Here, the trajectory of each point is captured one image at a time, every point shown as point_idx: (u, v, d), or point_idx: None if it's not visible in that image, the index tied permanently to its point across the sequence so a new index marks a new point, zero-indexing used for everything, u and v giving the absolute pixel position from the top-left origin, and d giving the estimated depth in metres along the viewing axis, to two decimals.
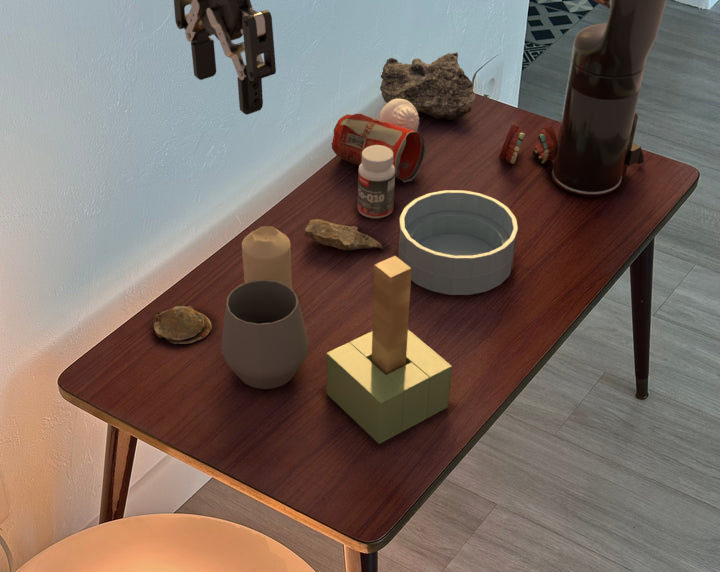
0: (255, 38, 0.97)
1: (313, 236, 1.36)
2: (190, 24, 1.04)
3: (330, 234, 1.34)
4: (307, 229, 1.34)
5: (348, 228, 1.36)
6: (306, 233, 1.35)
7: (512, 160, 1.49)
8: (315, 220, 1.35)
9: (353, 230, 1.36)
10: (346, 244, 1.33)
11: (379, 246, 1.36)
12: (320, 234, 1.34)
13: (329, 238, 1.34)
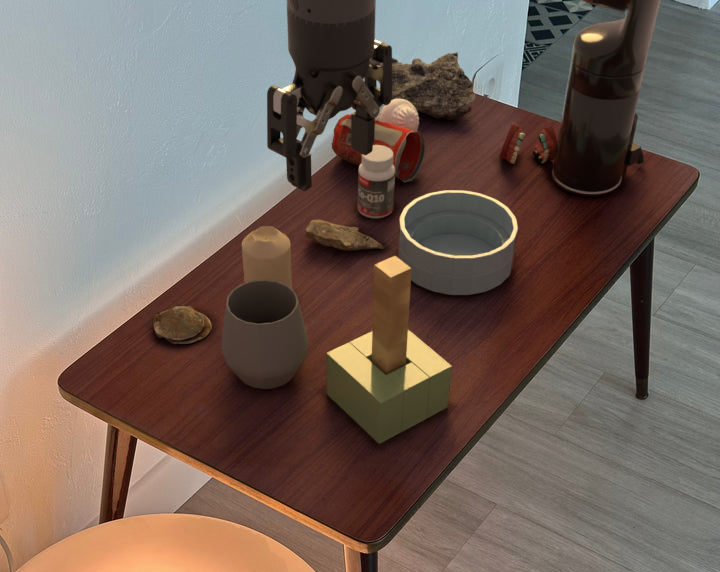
0: (271, 110, 0.93)
1: (314, 236, 1.36)
2: None
3: (331, 234, 1.35)
4: (308, 229, 1.35)
5: (349, 229, 1.36)
6: (307, 233, 1.36)
7: (512, 160, 1.49)
8: (316, 220, 1.36)
9: (354, 231, 1.36)
10: (347, 245, 1.34)
11: (380, 247, 1.36)
12: (321, 235, 1.34)
13: (330, 239, 1.34)
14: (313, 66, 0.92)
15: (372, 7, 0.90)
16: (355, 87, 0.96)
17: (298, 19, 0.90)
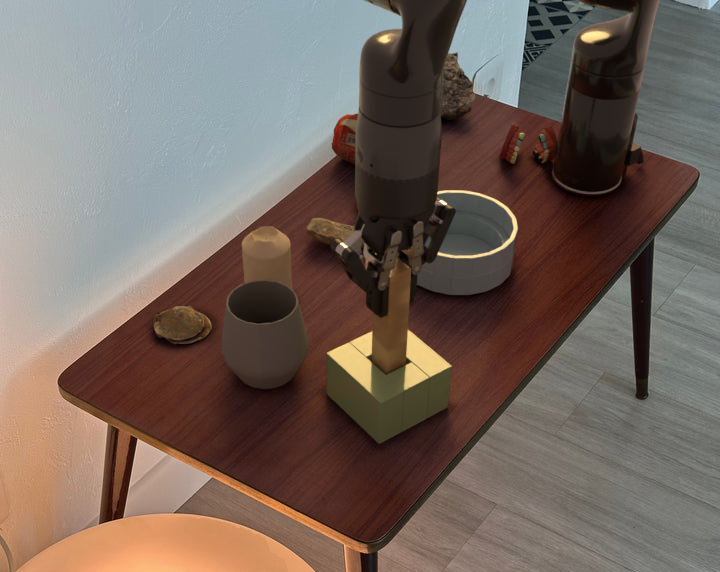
0: (339, 259, 1.00)
1: (315, 234, 1.36)
2: None
3: (332, 232, 1.35)
4: (309, 227, 1.35)
5: (350, 227, 1.36)
6: (308, 231, 1.36)
7: (512, 160, 1.49)
8: (317, 218, 1.36)
9: None
10: None
11: None
12: (321, 233, 1.35)
13: (331, 237, 1.34)
14: (373, 213, 0.97)
15: (434, 166, 0.94)
16: (414, 230, 1.00)
17: (362, 170, 0.95)
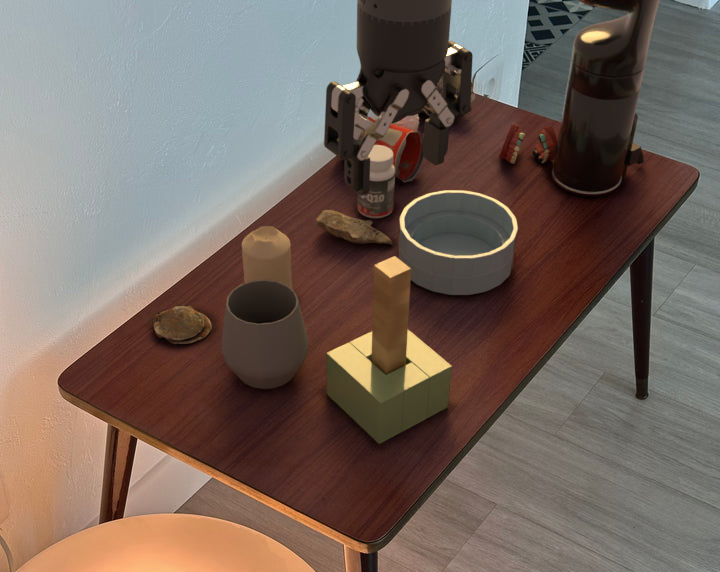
0: (329, 107, 0.89)
1: (325, 226, 1.37)
2: None
3: (341, 225, 1.36)
4: (318, 219, 1.36)
5: (360, 221, 1.37)
6: (318, 223, 1.37)
7: (512, 160, 1.49)
8: (328, 211, 1.37)
9: (364, 224, 1.37)
10: (354, 237, 1.35)
11: (389, 242, 1.37)
12: (330, 225, 1.36)
13: (339, 230, 1.36)
14: (377, 65, 0.87)
15: (445, 8, 0.84)
16: (424, 92, 0.91)
17: (365, 14, 0.85)
